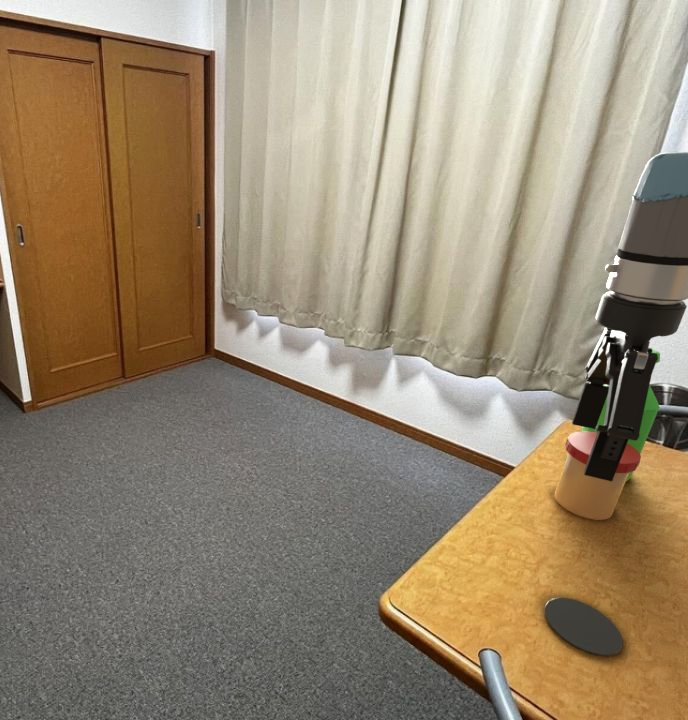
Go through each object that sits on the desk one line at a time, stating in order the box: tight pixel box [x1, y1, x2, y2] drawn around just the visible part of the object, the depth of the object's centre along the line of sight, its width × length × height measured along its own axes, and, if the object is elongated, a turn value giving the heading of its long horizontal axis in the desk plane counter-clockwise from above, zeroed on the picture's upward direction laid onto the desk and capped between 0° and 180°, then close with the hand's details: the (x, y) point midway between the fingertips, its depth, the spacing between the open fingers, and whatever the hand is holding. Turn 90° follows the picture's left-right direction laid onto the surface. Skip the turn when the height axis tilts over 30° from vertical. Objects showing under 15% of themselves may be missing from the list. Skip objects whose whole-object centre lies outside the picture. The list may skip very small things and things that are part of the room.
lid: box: [565, 430, 642, 473], centre depth 77 cm, size 9×9×2 cm
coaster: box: [543, 597, 624, 657], centre depth 60 cm, size 8×8×1 cm
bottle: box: [580, 348, 661, 482], centre depth 85 cm, size 9×9×25 cm
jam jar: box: [553, 452, 629, 521], centre depth 79 cm, size 8×8×12 cm
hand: (589, 449), depth 64 cm, fingers open, 13 cm apart
